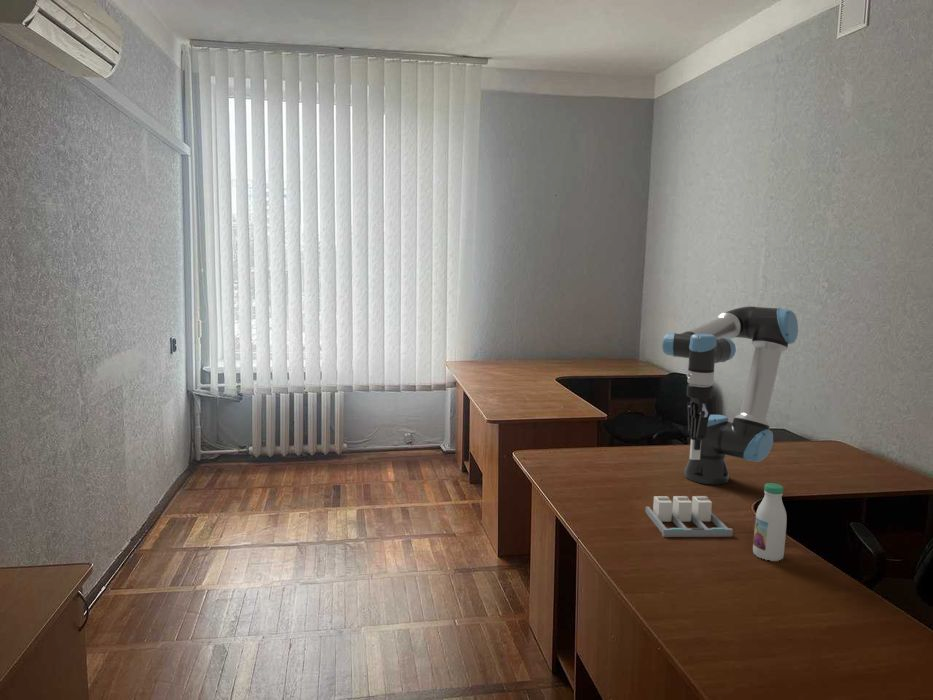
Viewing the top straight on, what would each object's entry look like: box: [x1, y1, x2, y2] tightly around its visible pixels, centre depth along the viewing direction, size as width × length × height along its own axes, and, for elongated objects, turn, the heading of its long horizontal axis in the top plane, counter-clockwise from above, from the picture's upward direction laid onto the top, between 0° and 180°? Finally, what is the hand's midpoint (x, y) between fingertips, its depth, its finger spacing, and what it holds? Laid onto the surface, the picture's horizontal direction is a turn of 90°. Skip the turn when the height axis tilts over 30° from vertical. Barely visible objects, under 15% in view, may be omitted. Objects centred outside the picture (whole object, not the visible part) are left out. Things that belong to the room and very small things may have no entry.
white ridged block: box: [672, 495, 692, 523], centre depth 202 cm, size 4×5×7 cm
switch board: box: [645, 506, 734, 538], centre depth 199 cm, size 20×18×4 cm
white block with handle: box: [652, 495, 673, 523], centre depth 202 cm, size 4×5×7 cm
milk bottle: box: [752, 482, 788, 562], centre depth 181 cm, size 8×8×20 cm
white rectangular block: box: [691, 495, 713, 522], centre depth 203 cm, size 4×5×7 cm
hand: (694, 458), depth 208 cm, fingers closed
